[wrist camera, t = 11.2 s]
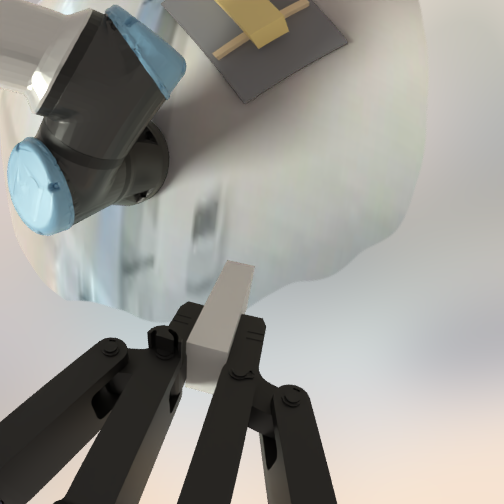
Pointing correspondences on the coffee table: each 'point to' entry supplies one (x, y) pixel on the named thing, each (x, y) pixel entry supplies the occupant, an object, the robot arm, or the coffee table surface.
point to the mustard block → (256, 19)
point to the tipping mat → (245, 51)
